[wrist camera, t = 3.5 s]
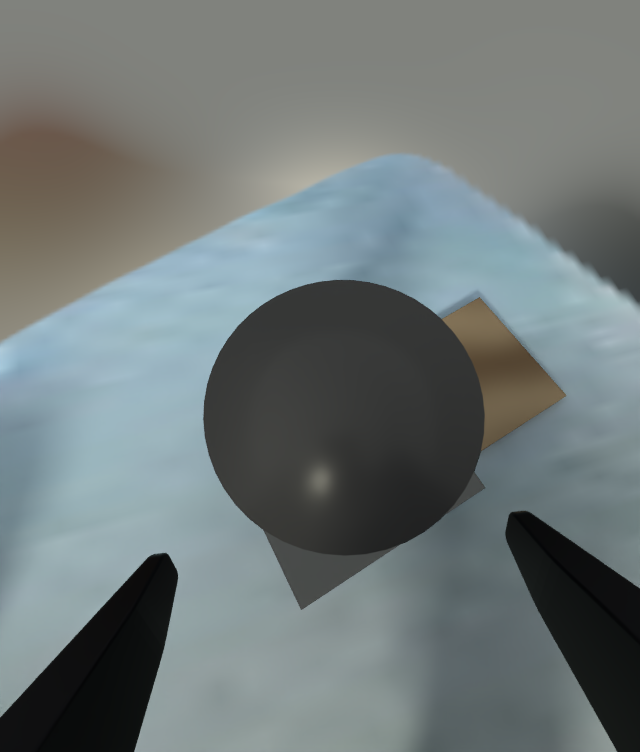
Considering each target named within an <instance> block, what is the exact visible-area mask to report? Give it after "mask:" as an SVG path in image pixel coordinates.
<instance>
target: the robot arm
mask: <svg viewBox="0 0 640 752" xmlns="http://www.w3.org/2000/svg"><path fill="white" fill-rule="evenodd" d="M505 535H506V540H507V543H508V545H509V548H510V550H511V552H512V554H513V556H514V559H515V561H516V563H517V565H518V568H519V570H520V572H521V574H522V576H523V579H524V581H525V583H526V585H527V588H528V590H529V592H530V594H531V597H532V599H533V601H534V603H535V605H536V607H537V609H538V611H539V613H540V615H541V616H542V618H543V620H544V622H545V624H546V625H547V627H548V629H549V631H550V633H551V634H552V636H553V638H554V640H555V642H556V643H557V645H558V647H559V649H560V650H561V652H562V654H563V656H564V658H565V659H566V661H567V663H568V665H569V666H570V668H571V670H572V672H573V674H574V675H575V677H576V679H577V681H578V683H579V684H580V686H581V688H582V690H583V691H584V693H585V695H586V697H587V699H588V700H589V702H590V704H591V706H592V707H593V709H594V711H595V713H596V715H597V716H598V718H599V720H600V722H601V724H602V725H603V727H604V729H605V731H606V732H607V734H608V736H609V738H610V740H611V741H612V743H613V745H614V747H615V749H616V750H617V752H640V588H638V587H637V586H636V585H634V584H633V583H631V582H630V581H628V580H627V579H625V578H624V577H623V576H621V575H620V574H618V573H617V572H615V571H614V570H612V569H611V568H610V567H608V566H607V565H605V564H604V563H602V562H601V561H599V560H598V559H597V558H595V557H594V556H592V555H591V554H589V553H588V552H586V551H585V550H584V549H582V548H581V547H579V546H578V545H576V544H575V543H573V542H572V541H571V540H569V539H568V538H566V537H565V536H563V535H562V534H560V533H559V532H558V531H556V530H555V529H553V528H552V527H550V526H549V525H547V524H546V523H545V522H543V521H542V520H540V519H539V518H537V517H536V516H534V515H533V514H532V513H530V512H528V511H517V512H511V513H510V514H509V518H508V522H507V527H506V533H505ZM177 581H178V573H177V570H176V568H175V566H174V564H173V562H172V560H171V558H170V556H169V555H168V554H167V553H160V554H153V555H151V556H149V557H148V558H147V559H146V560H145V561H144V562H143V563H142V564H141V566H140V567H139V568H138V569H137V570H136V571H135V572H134V573H133V574H132V575H131V576H130V578H129V579H128V580H127V581H126V582H125V583H124V584H123V585H122V586H121V587H120V588H119V589H118V591H117V592H116V593H115V594H114V595H113V596H112V597H111V598H110V599H109V600H108V601H107V602H106V604H105V605H104V606H103V607H102V608H101V609H100V610H99V611H98V612H97V613H96V614H95V615H94V617H93V618H92V619H91V620H90V621H89V622H88V623H87V624H86V625H85V626H84V627H83V628H82V630H81V631H80V632H79V633H78V634H77V635H76V636H75V637H74V638H73V639H72V640H71V641H70V643H69V644H68V645H67V646H66V647H65V648H64V649H63V650H62V651H61V652H60V653H59V655H58V656H57V657H56V658H55V659H54V660H53V661H52V662H51V663H50V664H49V665H48V666H47V668H46V669H45V670H44V671H43V672H42V673H41V674H40V675H39V676H38V677H37V678H36V679H35V681H34V682H33V683H32V684H31V685H30V686H29V687H28V688H27V689H26V690H25V691H24V692H23V694H22V695H21V696H20V697H19V698H18V699H17V700H16V701H15V702H14V703H13V704H12V705H11V707H10V708H9V709H8V710H7V711H6V712H5V713H4V714H3V715H2V716H1V717H0V752H134V750H135V747H136V743H137V740H138V737H139V733H140V730H141V726H142V723H143V719H144V716H145V713H146V709H147V706H148V702H149V699H150V695H151V692H152V689H153V685H154V682H155V678H156V675H157V671H158V668H159V665H160V661H161V658H162V654H163V650H164V646H165V641H166V637H167V632H168V627H169V622H170V617H171V612H172V607H173V602H174V597H175V592H176V587H177Z"/></svg>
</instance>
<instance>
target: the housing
mask: <svg viewBox="0 0 640 752" xmlns="http://www.w3.org/2000/svg"><path fill="white" fill-rule="evenodd" d="M484 488H485V486H484V485H483V484H482V482H481V481H480V479H479V478H478V477H477V475H476V474H475V472H474V473H473V475H472V477H471V479H470V481H469V483H468V485H467V487H466V489H465V490H464V491H463V493H462V494H461V496H460V497H459V499H458V500H457V501H456V503H455V504H454V505H453V506H452V508H451V509H450V510H449V511H448V512H450V511H451V510H453V509H454V508H456V507H457V506H459V505H460V504H462V503H463V502H465V501H466V500H468V499H469V498H471V497H472V496H474V495H475V494H477V493H478V492H480V491H481V490H483V489H484ZM448 512H447V513H448ZM447 513H446V514H447ZM264 532H265V534H266V536H267V538H268V541H269V543H270V545H271V547H272V549H273V551H274V553H275V555H276V558H277V560H278V562H279V564H280V566H281V568H282V570H283V572H284V574H285V577H286V579H287V581H288V583H289V585H290V587H291V589H292V591H293V594H294V596H295V598H296V600H297V602H298V604H299V606H300V608H301V610H302V609H304V608H305V607H307V606H308V605H310V604H311V603H313V602H314V601H316V600H317V599H319V598H320V597H322V596H323V595H325V594H326V593H328V592H329V591H331V590H332V589H334V588H335V587H337V586H338V585H340V584H341V583H343V582H344V581H346V580H347V579H349V578H350V577H352V576H353V575H355V574H356V573H358V572H359V571H361V570H362V569H364V568H365V567H367V566H368V565H370V564H371V563H373V562H374V561H376V560H377V559H379V558H380V557H382V556H383V555H385V554H386V553H388V552H389V551H391V550H393V549H394V548H396V547H397V546H399V545H397V546H395V547H392V548H389V549H387V550H383V551H378V552H374V553H369V554H362V555H347V556H342V555H330V554H321V553H317V552H313V551H308V550H304V549H301V548H298V547H296V546H293V545H291V544H288V543H286V542H283V541H281V540H280V539H278V538H276V537H274V536H273V535H271V534H269V533H267V532H266V531H264Z"/></svg>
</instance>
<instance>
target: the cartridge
mask: <svg viewBox="0 0 640 752" xmlns="http://www.w3.org/2000/svg"><path fill="white" fill-rule="evenodd" d="M203 420H204V432H205V439H206V444H207V448H208V453H209V456H210V459H211V462H212V465H213V467H214V470H215V473H216V474H217V476H218V478H219V480H220V482H221V484H222V486H223V487H224V489H225V491H226V492H227V493H228V495H229V496H230V498H231V499H232V500H233V502H234V503H235V504H236V506H237V507H238V508H239V509H240V510H241V511H242V512H243V513H244V514H245V515H246V516H247V517H248V518H249V519H250V520H251V521H253V522H254V523H255V524H257V525H258V526H259V527H260V528H262V529H263V530H264V531H266V532H267V533H269V534H271V535H273V536H274V537H276V538H278V539H280V540H281V541H283V542H286V543H288V544H291V545H293V546H296V547H298V548H301V549H304V550H308V551H313V552H317V553H321V554H330V555H342V556H347V555H362V554H369V553H374V552H378V551H383V550H387V549H389V548H392V547H395V546H397V545H400V544H403V543H405V542H407V541H409V540H411V539H413V538H414V537H416V536H418V535H420V534H421V533H423V532H425V531H426V530H427V529H429V528H430V527H431V526H432V525H434V524H435V523H436V522H438V521H439V520H440V519H441V518H442V517H443V516H444V515H445V514H446V513H447V512H448V511H449V510H450V509H451V508H452V506H453V505H454V504H455V503H456V501H457V500H458V499H459V497H460V496H461V494H462V493H463V491H464V490H465V489H466V487H467V485H468V483H469V481H470V479H471V477H472V475H473V473H474V471H475V468H476V465H477V462H478V459H479V456H480V453H481V448H482V442H483V436H484V421H485V412H484V402H483V395H482V391H481V386H480V382H479V378H478V376H477V373H476V371H475V368H474V365H473V363H472V361H471V359H470V357H469V355H468V353H467V351H466V350H465V348H464V346H463V345H462V343H461V342H460V340H459V339H458V338H457V336H456V335H455V333H454V332H453V331H452V330H451V329H450V328H449V327H448V326H447V325H446V323H445V322H444V321H443V320H442V319H441V318H439V317H438V316H437V315H436V314H435V313H434V312H432V311H431V310H430V309H429V308H427V307H426V306H424V305H423V304H421V303H420V302H418V301H417V300H415V299H413V298H411V297H409V296H407V295H405V294H403V293H401V292H399V291H396V290H394V289H391V288H388V287H386V286H382V285H378V284H374V283H370V282H362V281H355V280H332V281H322V282H317V283H312V284H307V285H304V286H301V287H298V288H295V289H292V290H289V291H287V292H285V293H283V294H280V295H278V296H276V297H274V298H273V299H271V300H270V301H268V302H266V303H265V304H263V305H262V306H260V307H259V308H258V309H256V310H255V311H254V312H253V313H251V314H250V315H249V316H248V317H247V318H246V319H245V320H244V321H243V322H242V323H241V324H240V325H239V326H238V327H237V328H236V329H235V331H234V332H233V333H232V334H231V336H230V337H229V338H228V340H227V341H226V343H225V345H224V346H223V348H222V349H221V351H220V353H219V355H218V357H217V359H216V361H215V364H214V366H213V368H212V371H211V374H210V377H209V381H208V384H207V389H206V394H205V400H204V418H203Z"/></svg>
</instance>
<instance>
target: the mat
mask: <svg viewBox="0 0 640 752" xmlns="http://www.w3.org/2000/svg"><path fill="white" fill-rule="evenodd" d="M442 320H443V321H444V322H445V323H446V325H447V326H448V327H449V328H450V329H451V330H452V331H453V332H454V333H455V335H456V336H457V338H458V339H459V340H460V342H461V343H462V345H463V346H464V348H465V350H466V351H467V353H468V355H469V357H470V359H471V361H472V363H473V365H474V368H475V371H476V373H477V376H478V378H479V382H480V386H481V391H482V395H483V402H484V412H485V421H484V436H483V442H482V448H481V451H482V450H483V449H485V448H487V447H488V446H490V445H491V444H493V443H494V442H496V441H497V440H499V439H500V438H502V437H504V436H505V435H507V434H508V433H510V432H511V431H513V430H514V429H516V428H517V427H519V426H521V425H522V424H524V423H525V422H527V421H528V420H530V419H531V418H533V417H534V416H536V415H538V414H539V413H541V412H542V411H544V410H545V409H547V408H548V407H550V406H551V405H553V404H555V403H556V402H558V401H559V400H561V399H562V398H564V397H565V396H566V394H565V393H564V392H563V391H562V390H561V389H560V388H559V387H558V385H557V384H556V383H555V382H554V381H553V380H552V379H551V377H550V376H549V375H548V374H547V373H546V372H545V371H544V370H543V368H542V367H541V366H540V365H539V364H538V363H537V362H536V361H535V359H534V358H533V357H532V356H531V355H530V354H529V353H528V351H527V350H526V349H525V348H524V347H523V346H522V345H521V344H520V342H519V341H518V340H517V339H516V338H515V337H514V336H513V335H512V333H511V332H510V331H509V330H508V329H507V328H506V327H505V325H504V324H503V323H502V322H501V321H500V320H499V319H498V318H497V316H496V315H495V314H494V313H493V312H492V311H491V310H490V309H489V307H488V306H487V305H486V304H485V303H484V302H483V301H482V299H481V298H480V297H479V298H478V299H476V300H474V301H472V302H471V303H469V304H467V305H465V306H464V307H462V308H460V309H459V310H457V311H455V312H453V313H452V314H450V315H448V316H446V317H445V318H443V319H442Z"/></svg>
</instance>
